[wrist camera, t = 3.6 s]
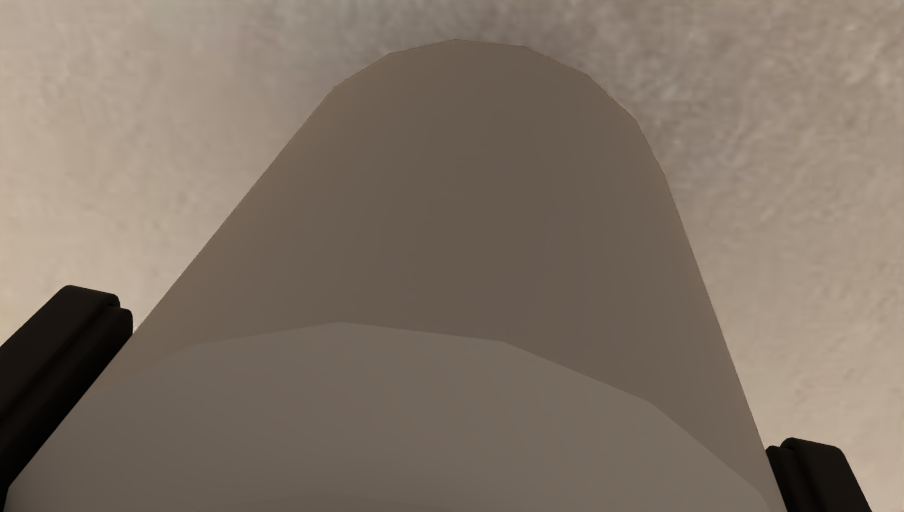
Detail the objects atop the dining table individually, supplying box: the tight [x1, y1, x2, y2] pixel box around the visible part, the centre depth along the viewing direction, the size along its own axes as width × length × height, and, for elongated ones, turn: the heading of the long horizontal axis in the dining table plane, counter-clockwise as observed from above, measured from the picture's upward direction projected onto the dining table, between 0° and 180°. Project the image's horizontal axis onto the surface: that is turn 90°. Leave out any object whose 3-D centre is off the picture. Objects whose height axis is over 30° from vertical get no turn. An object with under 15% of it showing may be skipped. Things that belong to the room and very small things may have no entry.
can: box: [3, 39, 787, 512], centre depth 12 cm, size 8×8×12 cm
